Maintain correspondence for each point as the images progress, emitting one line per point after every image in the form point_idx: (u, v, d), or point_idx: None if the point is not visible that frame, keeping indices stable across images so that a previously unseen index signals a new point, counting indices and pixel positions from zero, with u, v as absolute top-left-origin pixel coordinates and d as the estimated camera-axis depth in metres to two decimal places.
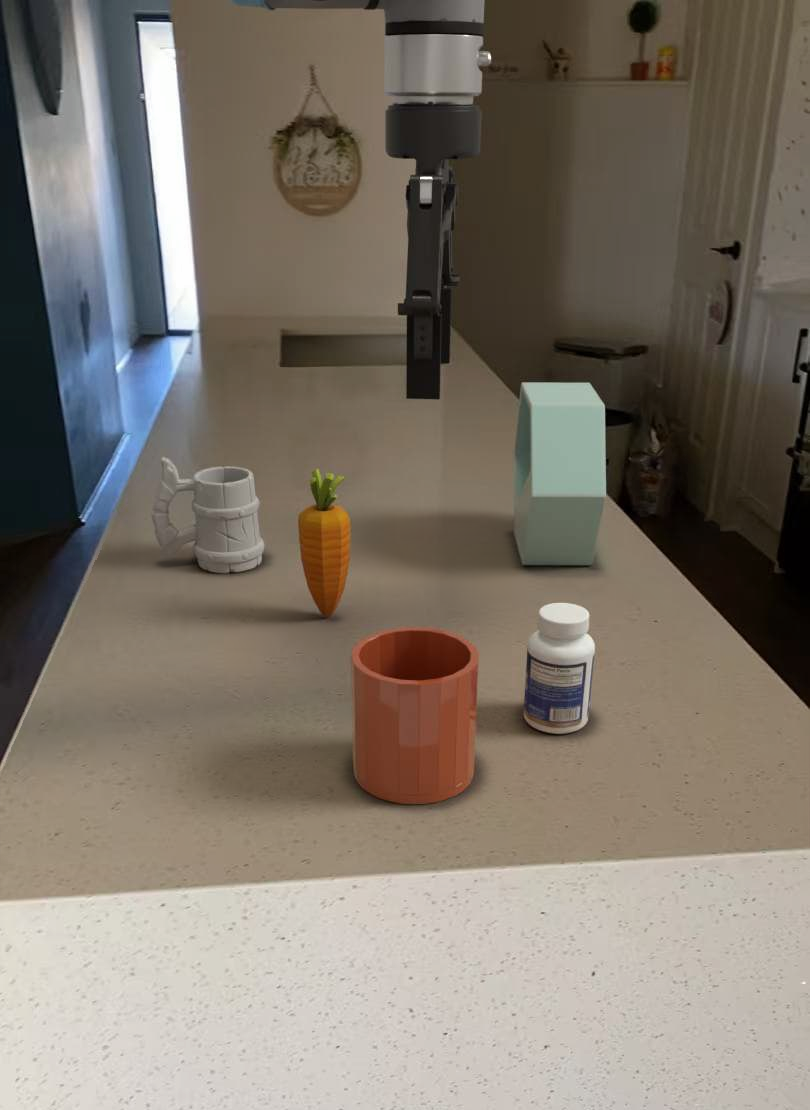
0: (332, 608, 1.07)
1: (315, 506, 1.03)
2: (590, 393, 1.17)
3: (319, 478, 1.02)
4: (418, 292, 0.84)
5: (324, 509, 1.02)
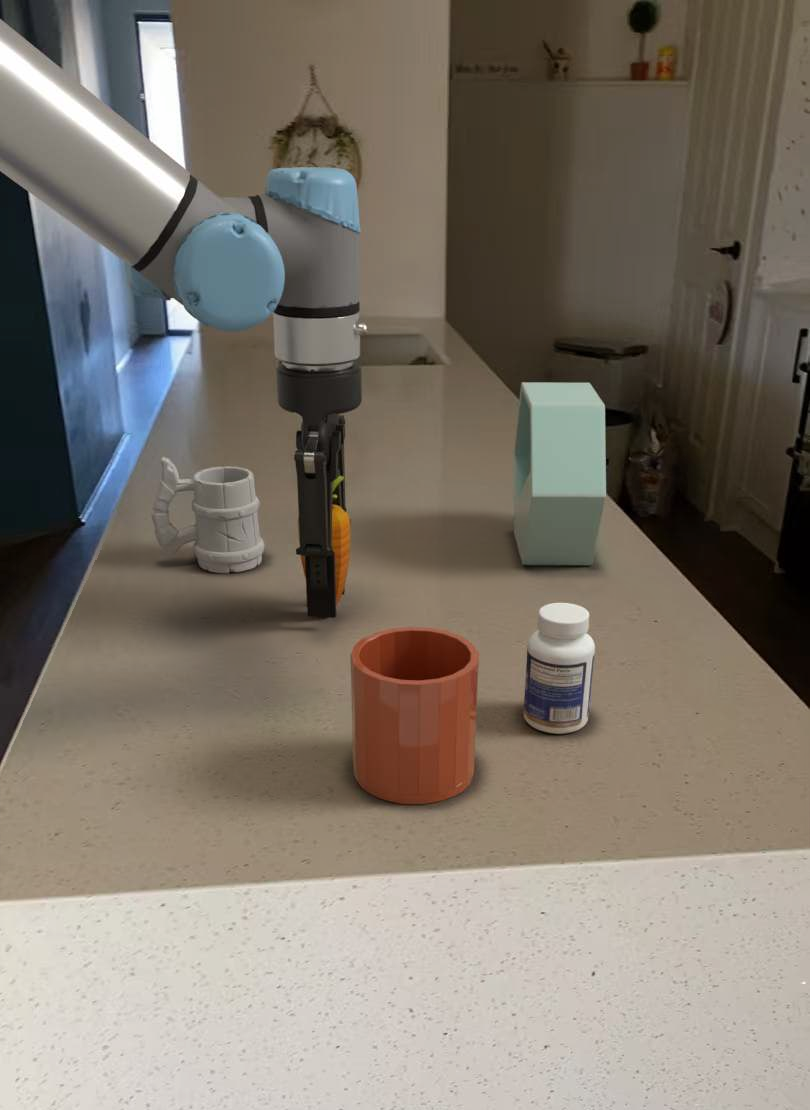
0: None
1: None
2: (590, 393, 1.17)
3: None
4: None
5: None
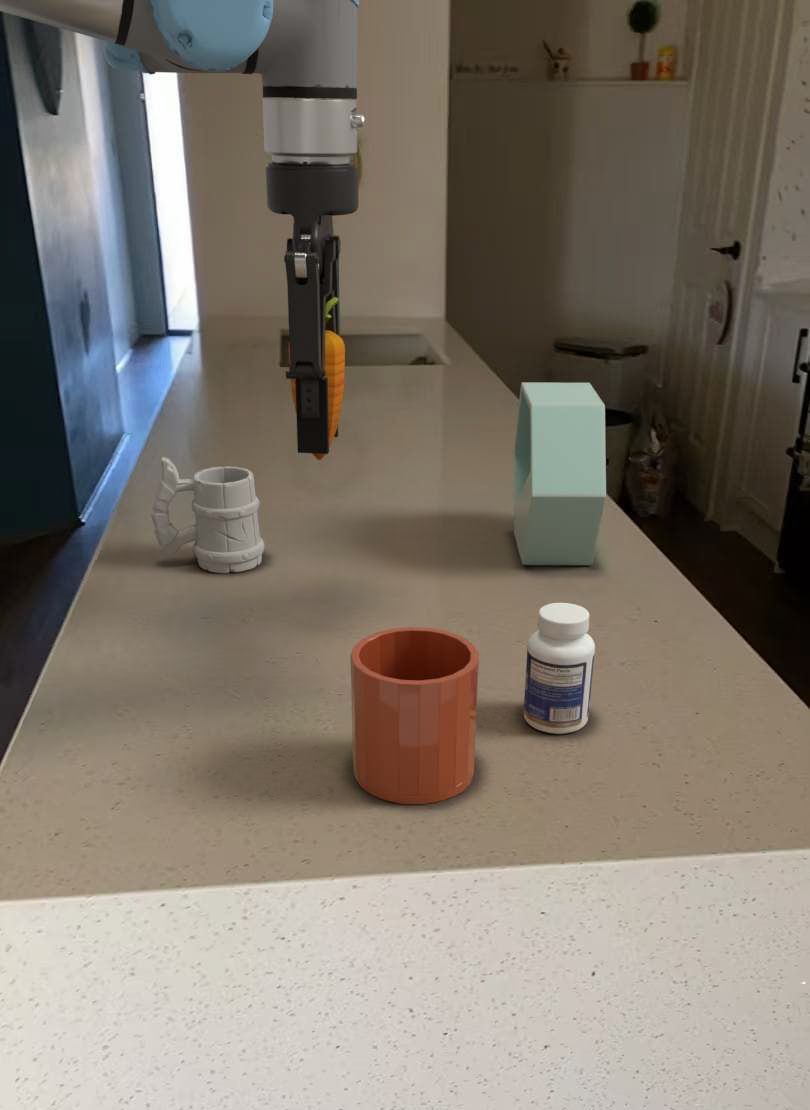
0: None
1: None
2: (590, 393, 1.17)
3: None
4: None
5: None
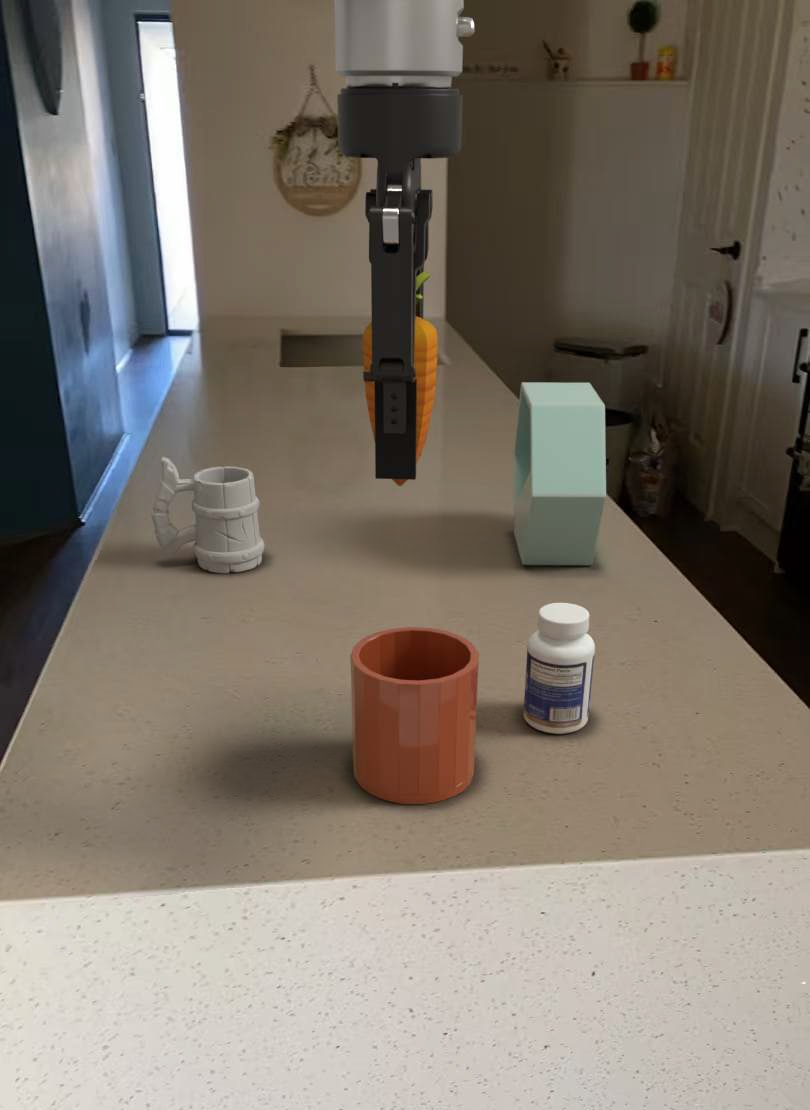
0: None
1: None
2: (590, 393, 1.17)
3: None
4: None
5: None
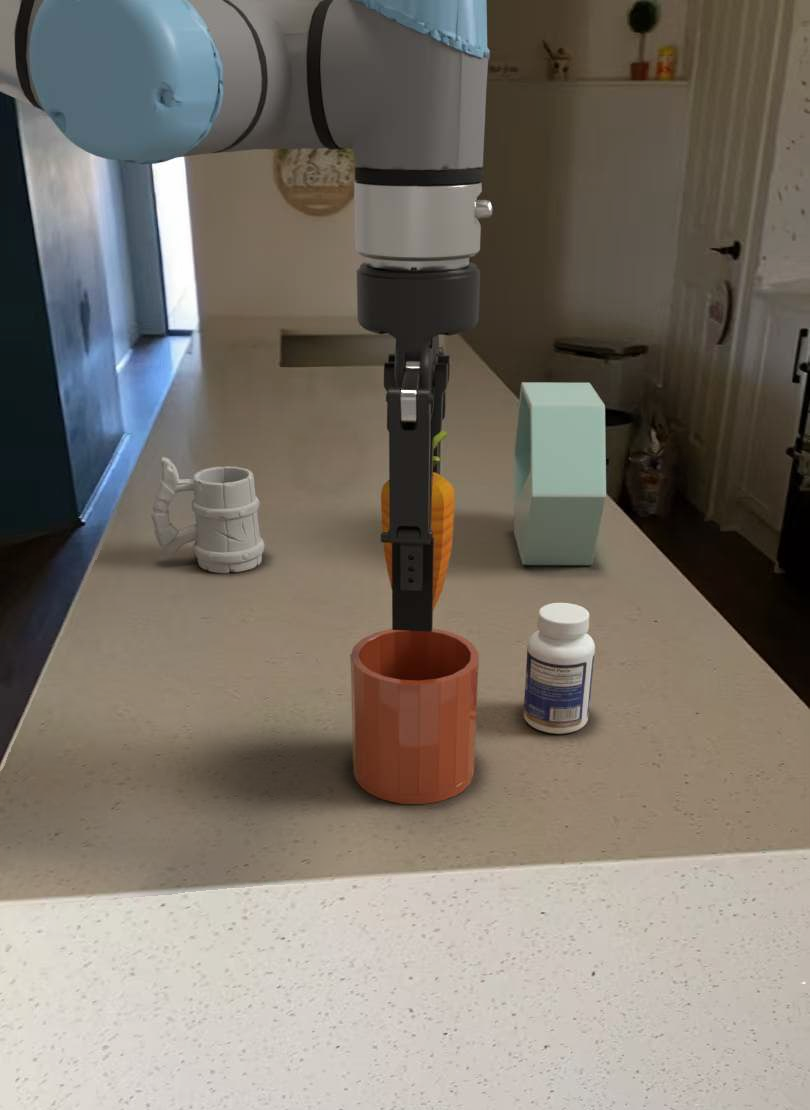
0: None
1: None
2: (590, 393, 1.17)
3: None
4: None
5: None
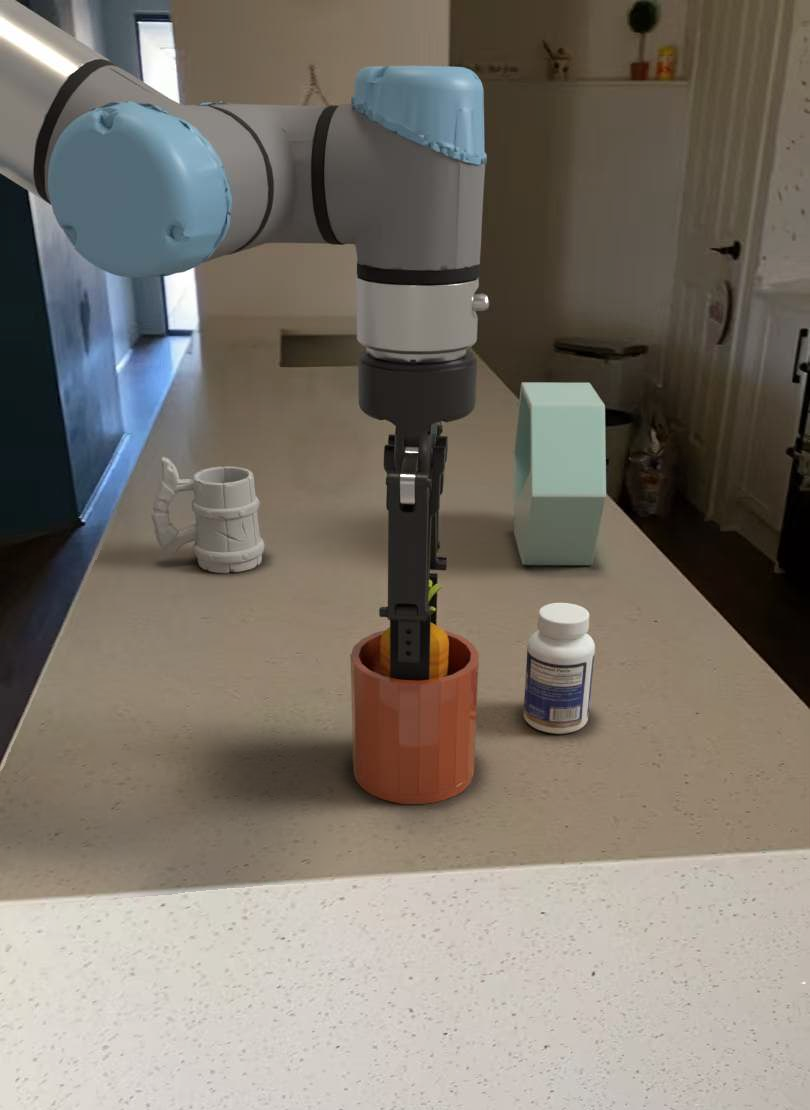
0: None
1: None
2: (590, 393, 1.17)
3: None
4: None
5: None
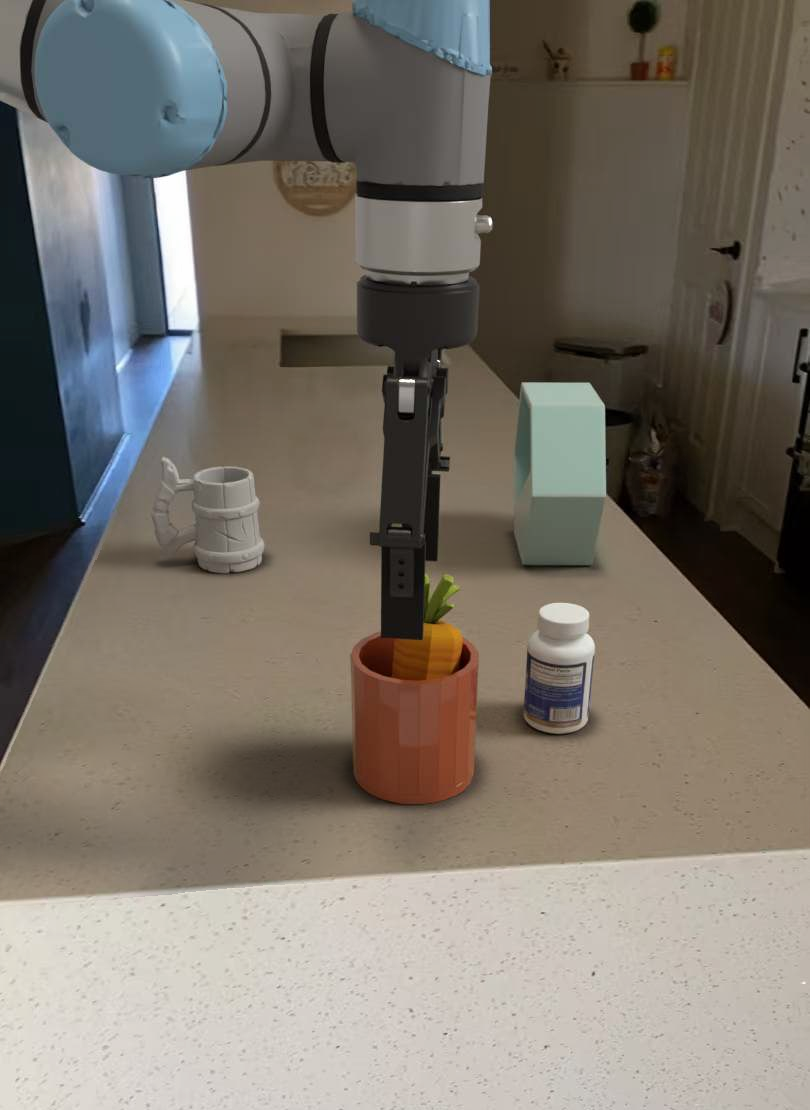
0: None
1: None
2: (590, 393, 1.17)
3: None
4: None
5: (432, 623, 0.79)
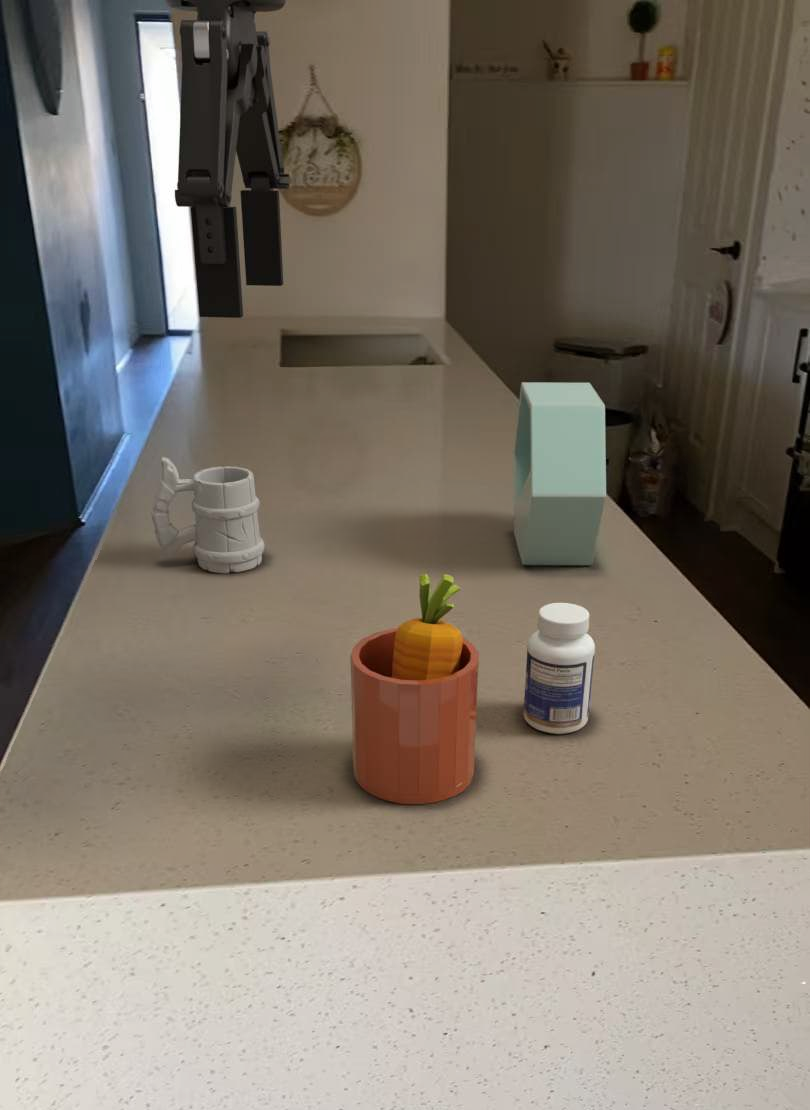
0: None
1: (419, 619, 0.80)
2: (590, 393, 1.17)
3: None
4: (201, 176, 0.66)
5: (432, 623, 0.79)
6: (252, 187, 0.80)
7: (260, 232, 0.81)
